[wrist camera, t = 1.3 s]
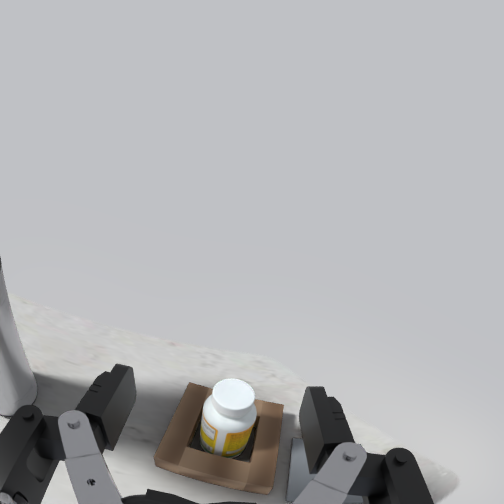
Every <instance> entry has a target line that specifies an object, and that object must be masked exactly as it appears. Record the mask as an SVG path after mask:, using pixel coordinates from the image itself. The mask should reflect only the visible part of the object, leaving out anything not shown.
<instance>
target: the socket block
mask: <svg viewBox="0 0 504 504" xmlns="http://www.w3.org/2000/svg"><path fill="white" fill-rule="evenodd" d="M212 392H213V389H211V388H208V387H204V386H201V385H197V384H194V383H191V382H189V384H188V386H187V388H186V390H185V393H184V395H183V397H182V399H181V401H180V403H179V405H178V407H177V409H176V411H175V413H174V415H173V418H172V420H171V422H170V424H169V426H168V428H167V430H166V432H165V434H164V436H163V438H162V440H161V443H160V445H159V447H158V449H157V451H156V453H155V455H154V460H155V465H156V466H157V467H160V468H163V469H165V470H168V471H171V472H174V473H177V474H180V475H183V476H186V477H190V478H193V479H196V480H200V481H204V482H207V483H211V484H215V485H219V486H223V487H228V488H232V489H237V490H242V491H247V492H253V493H259V494H265V495H268V493H269V492H270V491H271V489H272V488H273V484H274V477H275V470H276V463H277V456H278V448H279V440H280V432H281V424H282V415H283V407H284V405H282V404H276V403H271V402H266V401H261V400H256V399H255V401H254V405H255V407H256V411H257V416H256V420H255V423H254V426H253V427H256V432H255V437H254V441H253V446H252V451H251V456H250V460H249V462H244V461H239V460H235V459H230V458H226V457H222V456H218V455H214V454H210V453H207V452H203V451H199V450H196V449H193V448H189V447H190V445H191V442H192V440H193V437H194V435H195V432H196V429H197V427H198V424H199V422H200V419H201V417H202V412H203V406H204V403H205V401H206V399H207V398H208V397H209V396H210V395H212Z"/></svg>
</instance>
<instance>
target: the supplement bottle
mask: <svg viewBox="0 0 504 504" xmlns="http://www.w3.org/2000/svg"><path fill="white" fill-rule="evenodd" d="M254 401H255V392H254V390H253V388H252V387H251V386H250V385H249V384H247V383H246V382H244V381H242V380H238V379H224V380H222V381H220V382H218V383H217V384H216V385H215V386H214V388H213V392H212V395H210V396H209V397H208V398H207V399H206V401H205V403H204V406H203V412H202V421H201V430H200V444H201V446H202V448H203V450H204V451H205V452H207V453H210V454H214V455H218V456H222V457H226V458H230V459H231V458H234V457H237V456H238V455H240V454H241V453H242V452H243V451H244V449H245V447H246V445H247V442H248V439H249V437H250V434H251V431H252V428H253V426H254V423H255V420H256V416H257V411H256V407H255V405H254Z"/></svg>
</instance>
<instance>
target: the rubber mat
mask: <svg viewBox="0 0 504 504" xmlns="http://www.w3.org/2000/svg"><path fill="white" fill-rule="evenodd" d="M358 445H360V446H361V444H358ZM316 475H317V474H309V469H308V463H307V458H306V453H305V448H304V442H303V439H299V438H293V439H292V448H291V458H290V468H289V477H288V486H287V495H286V501H291V502H294V501H295V500H296V498H297V497H298V496H299V495H300V494H301V492H302V491H303V490H304V489H305V487H306V486H307V485H308V484H309V482H310V481H311V480H312V479H314V478H315V476H316ZM362 503H363V498H362V496H355V495H347V497H346V499H345V500H344V502H343V503H342V504H362Z"/></svg>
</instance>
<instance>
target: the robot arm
mask: <svg viewBox="0 0 504 504" xmlns="http://www.w3.org/2000/svg"><path fill="white" fill-rule="evenodd" d="M36 395H37V383H36V380H35V377H34V375H33V372H32V370H31V367H30V365H29V362H28V359H27V357H26V354H25V351H24V348H23V346H22V343H21V340H20V337H19V334H18V330H17V327H16V324H15V321H14V317H13V314H12V310H11V306H10V302H9V298H8V294H7V290H6V286H5V281H4V276H3V271H2V266H1V258H0V414H1V415H5V416H12V415H13V416H12V418H11V419H10V421H9V422H8V423H7V425H6V426H5V428H4V429H3V431H2V432H1V434H0V504H41V501H42V499H43V497H44V494H45V492H46V490H47V487H48V485H49V483H50V480H51V478H52V476H53V474H54V471H55V469H56V467H57V465H58V463H59V461H60V460H62V461H65V464H66V467H67V471H68V474H69V477H70V480H71V483H72V486H73V489H74V492H75V495H76V498H77V500H78V503H79V504H198V503H195V502H192V501H190V500H187V499H184V498H182V497H179V496H176V495H174V494H169V493H164V492H159V491H155V490H150V489H147V492H146V495H133V496H128V497H124V498H122V496H121V495H120V493H119V491H118V489H117V487H116V485H115V483H114V480H113V478H112V476H111V474H110V472H109V469H108V467H107V465H106V462H105V460H104V457H103V455H102V454H103V452H104V449H108V450H111V451H113V450H114V447H115V445H116V443H117V441H118V438H119V436H120V434H121V432H122V429H123V427H124V425H125V423H126V420H127V418H128V416H129V414H130V412H131V410H132V407H133V405H134V403H135V400H136V387H135V380H134V373H133V368H132V367H130V366H125V365H121V364H116V365H115V366H114V367H113V369H112V371H111V372H106V371H105V372H104V373H102V374H101V375H99V376H98V377H97V378H96V379H95V381H94V382H93V385H91V387H90V388H89V391H87V393H86V394H85V395H84V397H83V398H82V400H81V401H80V403H79V404H78V406H77V407H76V409H75V410H70V411H66V412H64V413H63V414H61V415H60V417H53V416H45V415H42V412H41V411H40V409H39V408H38V407H36V406H34V405H32V403H33V402H34V400H35V398H36ZM299 422H300V427H301V432H302V437H303V442H304V448H305V453H306V458H307V463H308V469H309V474H317V475H316V476H315V478H314V479H312V480H311V481H310V482H309V484H308V485H307V486H306V487H305V489H304V490H303V491H302V492H301V494H300V495H299V496H298V497H297V498H296V500H295V501H294V502H293V503H292V504H342V503H343V502H344V500H345V499H346V497H347V495H355V496H362V498H363V503H364V504H434V503H433V500H432V498H431V495H430V493H429V490H428V488H427V485H426V483H425V480H424V478H423V476H422V473H421V471H420V469H419V466H418V464H417V462H416V459H415V457H414V455H413V454H412V453H411V452H410V451H409V450H407V449H404V448H394V449H391V450H390V451H389V452H388V453H387V454H386V455H380V454H371V453H367V452H366V451H365V449H364V448H363V447H362V446H360V445H358V444H356V443H355V441H354V439H353V436H352V433H351V431H350V428H349V425H348V422H347V420H346V417H345V414H344V413H343V409H342V407H341V404H340V403H339V402H338V401H337V400H336V399H335V398H334V397H327V395H326V392H325V389H324V387H307V388H306V390H305V394H304V397H303V401H302V404H301V408H300V412H299ZM210 504H256V503H246V502H220V503H210Z"/></svg>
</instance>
